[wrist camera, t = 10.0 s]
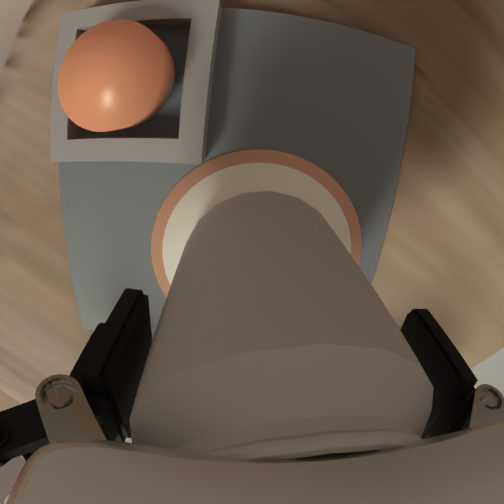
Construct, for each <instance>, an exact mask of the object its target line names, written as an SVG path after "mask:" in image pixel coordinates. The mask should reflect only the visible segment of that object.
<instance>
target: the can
mask: <svg viewBox="0 0 504 504" xmlns="http://www.w3.org/2000/svg"><path fill="white" fill-rule="evenodd" d="M433 388H434V387H433V385H432V384H431V382H430V380H429V378H428V376H427V375H426V373H425V371H424V369H423V368H422V366H421V364H420V363H419V361H418V359H417V357H416V356H415V354H414V352H413V351H412V349H411V347H410V346H409V344H408V342H407V341H406V339H405V337H404V336H403V334H402V332H401V331H400V329H399V327H398V326H397V324H396V323H395V321H394V319H393V318H392V316H391V315H390V313H389V311H388V310H387V308H386V307H385V305H384V304H383V302H382V301H381V299H380V297H379V296H378V294H377V293H376V291H375V290H374V288H373V287H372V285H371V284H370V282H369V281H368V279H367V278H366V276H365V275H364V273H363V272H362V270H361V269H360V267H359V266H358V265H357V263H356V262H355V260H354V259H353V257H352V256H351V254H350V253H349V252H348V250H347V249H346V247H345V246H344V244H343V243H342V242H341V240H340V239H339V237H338V236H337V235H336V233H335V232H334V230H333V229H332V228H331V226H330V225H329V224H328V222H327V221H326V220H325V219H324V217H323V216H322V215H321V213H320V212H319V211H318V210H316V209H315V208H313V207H312V206H310V205H309V204H307V203H306V202H304V201H302V200H301V199H299V198H298V197H295V196H291V195H286V194H282V193H278V192H274V191H261V192H249V193H242V194H240V195H237V196H235V197H232V198H230V199H227V200H225V201H223V202H220V203H218V204H217V205H216V206H215V207H213V208H212V209H211V210H210V211H209V212H208V213H206V214H205V215H204V216H203V217H202V218H201V219H200V220H199V221H198V222H197V224H196V226H195V228H194V229H193V231H192V233H191V235H190V236H189V238H188V240H187V242H186V244H185V247H184V250H183V253H182V255H181V258H180V261H179V264H178V266H177V269H176V272H175V275H174V278H173V280H172V283H171V286H170V289H169V292H168V295H167V298H166V301H165V304H164V307H163V310H162V313H161V316H160V319H159V322H158V325H157V328H156V331H155V334H154V337H153V340H152V344H151V347H150V350H149V353H148V357H147V360H146V363H145V367H144V370H143V373H142V377H141V380H140V384H139V387H138V390H137V394H136V398H135V401H134V405H133V408H132V412H131V416H130V429H131V438H132V443H133V444H141V445H148V446H155V447H161V448H168V449H176V450H185V451H194V452H205V453H206V454H211V455H216V456H221V457H229V458H237V459H246V460H287V459H296V458H304V457H311V456H317V455H324V454H330V453H349V452H362V451H373V450H387V449H392V448H397V447H402V446H407V445H410V444H413V443H416V442H420V441H422V440H423V439H422V438H421V436H422V434H423V431H424V429H425V426H426V424H427V421H428V419H429V416H430V414H431V410H432V400H433Z"/></svg>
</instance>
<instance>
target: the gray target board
mask: <svg viewBox="0 0 504 504" xmlns="http://www.w3.org/2000/svg"><path fill="white" fill-rule="evenodd" d="M115 19H126V20H132V21H136V22H138V23H141V24H142V25H144V26H146V27H147V28H148V29H150V30H151V31H152V32H153V33H154V34H155V35H157V36H158V37H159V38H160V39H161V40H162V41H163V42H165V44H166V45H167V46H168V47H169V49H170V51H171V52H172V55H173V57H174V61H175V66H176V78H175V84H174V87H173V90H172V92H171V95H170V97H169V99H168V100H167V102H166V103H165V105H164V106H163V107H162V109H161V110H160V111H159V112H158V113H157V114H155V115H154V116H153V117H152V118H150V119H149V120H147V121H146V122H144V123H142V124H139V125H136V126H133V127H129V128H124V129H118V130H113V131H106V132H95V131H90V130H87V129H84V128H82V127H80V126H78V125H77V124H75V123H74V122H73V121H72V120H71V119H70V118H69V117H68V116H67V115H66V113H65V112H64V110H63V108H62V106H61V104H60V101H59V97H58V90H57V80H58V73H59V69H60V66H61V63H62V61H63V58H64V56H65V54H66V53H67V51H68V50H69V48H70V47H71V45H72V44H73V43H74V42H75V40H76V39H77V38H78V37H79V36H81V35H82V34H83V33H84V32H86V31H87V30H88V29H90V28H92V27H93V26H95V25H97V24H100V23H102V22H105V21H109V20H115ZM415 56H416V48H413V47H410V46H408V45H405V44H402V43H400V42H397V41H394V40H391V39H388V38H385V37H382V36H379V35H376V34H373V33H369V32H366V31H362V30H359V29H355V28H352V27H348V26H344V25H340V24H336V23H332V22H327V21H323V20H318V19H313V18H308V17H302V16H297V15H291V14H284V13H277V12H270V11H261V10H252V9H240V8H224V7H221V2H220V0H140V1H131V2H123V3H116V4H109V5H103V6H97V7H92V8H86V9H81V10H77V11H72V12H68V13H64V14H62V19H61V24H60V29H59V35H58V41H57V48H56V55H55V63H54V72H53V82H52V94H51V112H50V162H60V185H61V200H62V212H63V222H64V231H65V239H66V246H67V253H68V260H69V266H70V272H71V277H72V283H73V288H74V293H75V298H76V303H77V307H78V312H79V316H80V320H81V324H82V328H83V329H85V330H91V331H94V330H95V329H96V327H97V325H98V324H99V323H101V322H103V323H105V322H106V321H107V319H108V317H109V315H110V314H111V312H112V310H113V308H114V307H115V305H116V303H117V302H118V300H119V298H120V297H121V295H122V293H123V292H124V290H125V289H126V288H130V289H138V290H142V291H143V294H144V295H148V299H149V311H150V322H151V332H152V340H153V337H154V334H155V331H156V328H157V325H158V322H159V319H160V316H161V313H162V310H163V307H164V304H165V301H166V298H167V295H168V292H169V289H170V286H171V283H172V280H173V278H174V275H175V272H176V269H177V266H178V264H179V261H180V258H181V255H182V253H183V250H184V247H185V244H186V242H187V240H188V238H189V236H190V235H191V233H192V231H193V229H194V228H195V226H196V224H197V222H198V221H199V220H200V219H201V218H202V217H203V216H204V215H205V214H206V213H208V212H209V211H210V210H211V209H212V208H213V207H215V206H216V205H217V204H218V203H220V202H223V201H225V200H227V199H230V198H232V197H235V196H237V195H240V194H242V193H249V192H261V191H274V192H278V193H282V194H286V195H291V196H295V197H298V198H299V199H301V200H302V201H304V202H306V203H307V204H309V205H310V206H312V207H313V208H315V209H316V210H318V211H319V212H320V213H321V215H322V216H323V217H324V219H325V220H326V221H327V222H328V224H329V225H330V226H331V228H332V229H333V230H334V232H335V233H336V235H337V236H338V237H339V239H340V240H341V242H342V243H343V244H344V246H345V247H346V249H347V250H348V252H349V253H350V254H351V256H352V257H353V259H354V260H355V262H356V263H357V265H358V266H359V267H360V269H361V270H362V272H363V273H364V275H365V276H366V278H367V279H368V281H369V282H370V284H371V283H372V279H373V276H374V273H375V269H376V266H377V263H378V259H379V256H380V252H381V248H382V245H383V241H384V237H385V234H386V230H387V226H388V222H389V218H390V214H391V209H392V205H393V201H394V196H395V192H396V187H397V183H398V178H399V173H400V168H401V163H402V157H403V152H404V146H405V140H406V134H407V127H408V121H409V114H410V106H411V98H412V89H413V80H414V69H415Z"/></svg>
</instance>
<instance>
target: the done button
mask: <svg viewBox="0 0 504 504" xmlns="http://www.w3.org/2000/svg"><path fill="white" fill-rule="evenodd" d="M175 78H176V66H175V61H174V57H173V55H172V52H171V51H170V49H169V47H168V46H167V45H166V44H165V42H163V41H162V40H161V39H160V38H159V37H158V36H157V35H155V34H154V33H153V32H152V31H151V30H150V29H148V28H147V27H146V26H144V25H142V24H141V23H138V22H136V21H132V20H126V19H115V20H109V21H105V22H102V23H100V24H97V25H95V26H93V27H92V28H90V29H88V30H87V31H86V32H84V33H83V34H82V35H81V36H79V37H78V38H77V39H76V40H75V42H74V43H73V44H72V45H71V47H70V48H69V50H68V51H67V53H66V54H65V56H64V58H63V61H62V63H61V66H60V69H59V73H58V80H57V90H58V97H59V101H60V104H61V106H62V108H63V110H64V112H65V113H66V115H67V116H68V117H69V118H70V119H71V120H72V121H73V122H74V123H75V124H77V125H78V126H80V127H82V128H84V129H87V130H90V131H95V132H106V131H113V130H118V129H124V128H129V127H133V126H136V125H139V124H142V123H144V122H146V121H147V120H149V119H150V118H152V117H153V116H154V115H155V114H157V113H158V112H159V111H160V110H161V109H162V107H163V106H164V105H165V103H166V102H167V100H168V99H169V97H170V95H171V92H172V90H173V87H174V84H175Z"/></svg>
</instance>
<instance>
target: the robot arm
mask: <svg viewBox="0 0 504 504" xmlns="http://www.w3.org/2000/svg"><path fill="white" fill-rule="evenodd" d="M400 331H401V332H402V334H403V336H404V337H405V339H406V341H407V342H408V344H409V346H410V347H411V349H412V351H413V352H414V354H415V356H416V357H417V359H418V361H419V363H420V364H421V366H422V368H423V369H424V371H425V373H426V375H427V376H428V378H429V380H430V382H431V384H432V385H433V387H434V388H433V400H432V410H431V414H430V416H429V419H428V421H427V424H426V426H425V429H424V431H423V434H422V436H421V438H422V439H423V440H422V441H420V442H416V443H413V444H410V445H407V446H402V447H397V448H392V449H387V450H373V451H362V452H349V453H330V454H324V455H317V456H311V457H304V458H296V459H287V460H246V459H237V458H229V457H221V456H216V455H211V454H206V453H205V452H194V451H185V450H176V449H168V448H161V447H155V446H148V445H141V444H133V443H127V442H125V439H126V437H127V438H130V437H131V429H130V416H131V412H132V408H133V405H134V401H135V398H136V394H137V390H138V387H139V384H140V380H141V377H142V373H143V370H144V367H145V363H146V360H147V357H148V353H149V350H150V347H151V344H152V332H151V322H150V311H149V299H148V295H144V294H143V291H142V290H138V289H130V288H126V289H125V290H124V292H123V293H122V295H121V297H120V298H119V300H118V302H117V303H116V305H115V307H114V308H113V310H112V312H111V314H110V315H109V317H108V319H107V321H106V322H105V323H103V322H101V323H99V324H98V325H97V327H96V329H95V330H94V332H93V334H92V336H91V337H90V339H89V341H88V343H87V344H86V346H85V348H84V350H83V351H82V353H81V355H80V357H79V359H78V360H77V362H76V364H75V366H74V368H73V370H72V372H71V374H70V375H69V376H68V375H61V374H58V375H52V376H50V377H48V378H46V379H44V380H43V381H42V382H41V383H40V384H39V385H38V387H37V389H36V393H35V397H36V399H34V400H32V401H29V402H26V403H23V404H21V405H18V406H15V407H13V408H10V409H7V410H4V411H1V412H0V504H4V500H5V499H6V497H7V496H8V495H9V494H10V495H9V498H8V501H7V503H6V504H504V397H503V395H502V394H501V392H500V391H499V390H497V389H496V388H495V387H493V386H491V385H487V384H483V385H480V386H478V387H477V388H476V389H475V388H474V385H475V384H476V382H477V381H478V380H477V379H476V377H475V375H474V374H473V373H472V371H471V369H470V368H469V366H468V365H467V363H466V362H465V360H464V359H463V358H462V356H461V355H460V353H459V352H458V350H457V349H456V347H455V346H454V345H453V343H452V342H451V340H450V339H449V338H448V336H447V335H446V333H445V332H444V331H443V329H442V328H441V327H440V325H439V324H438V323H437V321H436V320H435V319H434V317H433V316H432V315H431V313H430V312H429V311H428V310H427V309H413V310H412V311H411V312H410V313H408V314H407V316H406V319H405V321H404V323H403V326H402V328H401V330H400Z"/></svg>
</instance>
